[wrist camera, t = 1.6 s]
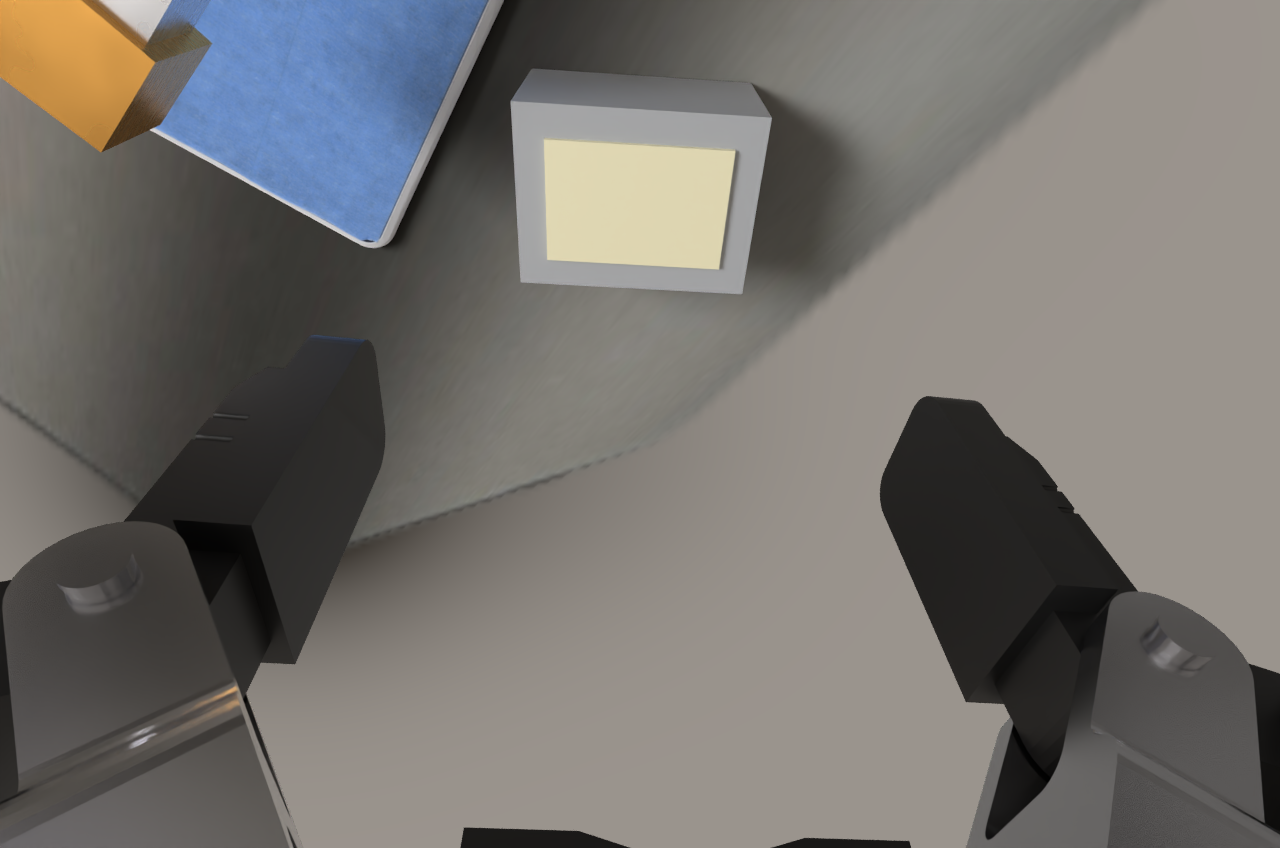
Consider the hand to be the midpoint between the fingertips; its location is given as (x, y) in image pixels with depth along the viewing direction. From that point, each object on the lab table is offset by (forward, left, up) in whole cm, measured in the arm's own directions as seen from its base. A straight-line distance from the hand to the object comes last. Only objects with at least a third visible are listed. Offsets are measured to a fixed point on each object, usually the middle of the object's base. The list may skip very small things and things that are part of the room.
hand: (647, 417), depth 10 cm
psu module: (0, +2, -19) cm, 19 cm away
